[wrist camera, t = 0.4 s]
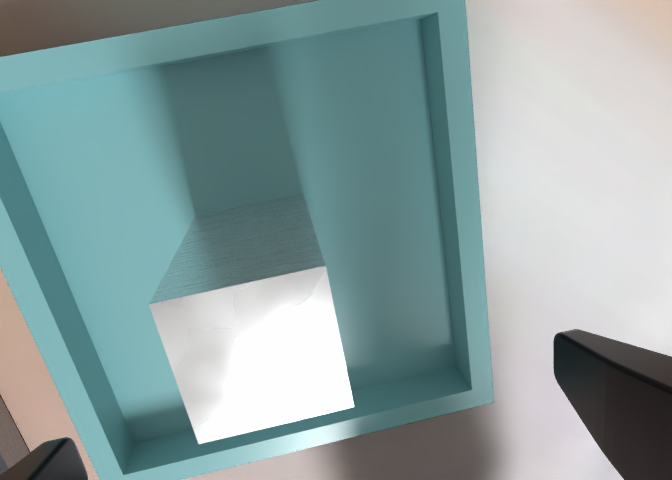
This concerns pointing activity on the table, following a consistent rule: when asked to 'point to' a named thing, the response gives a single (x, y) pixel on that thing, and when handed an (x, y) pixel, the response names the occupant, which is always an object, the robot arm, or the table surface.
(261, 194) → the teal tray
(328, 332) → the billet
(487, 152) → the table surface
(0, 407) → the dark grey tray
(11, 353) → the table surface
